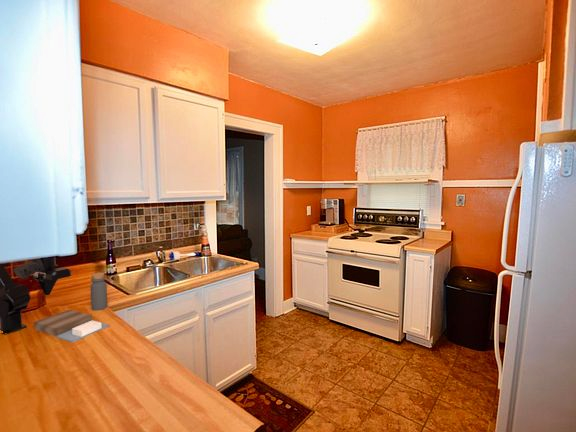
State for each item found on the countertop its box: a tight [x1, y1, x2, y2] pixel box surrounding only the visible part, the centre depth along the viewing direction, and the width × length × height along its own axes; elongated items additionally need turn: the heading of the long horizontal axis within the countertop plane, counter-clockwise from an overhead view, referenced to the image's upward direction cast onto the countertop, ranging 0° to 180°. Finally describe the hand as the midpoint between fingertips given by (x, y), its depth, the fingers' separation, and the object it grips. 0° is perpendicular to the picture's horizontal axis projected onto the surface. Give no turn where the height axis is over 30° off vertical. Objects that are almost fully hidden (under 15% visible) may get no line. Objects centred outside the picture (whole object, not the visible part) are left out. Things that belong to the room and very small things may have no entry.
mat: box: [56, 320, 110, 343], centre depth 106 cm, size 8×13×1 cm, turn 158°
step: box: [33, 309, 93, 337], centre depth 110 cm, size 14×12×3 cm
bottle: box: [89, 271, 108, 311], centre depth 127 cm, size 6×6×15 cm
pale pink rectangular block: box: [72, 320, 102, 337], centre depth 105 cm, size 5×7×2 cm
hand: (47, 295), depth 106 cm, fingers closed
